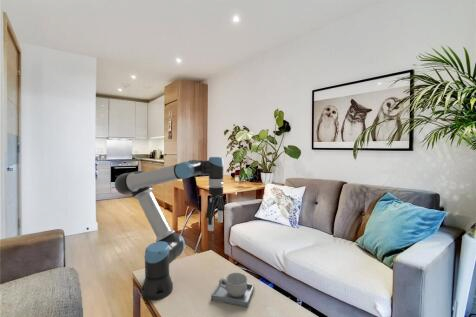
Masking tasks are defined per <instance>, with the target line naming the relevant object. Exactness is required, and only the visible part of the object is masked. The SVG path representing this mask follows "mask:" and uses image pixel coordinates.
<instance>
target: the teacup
mask: <svg viewBox="0 0 476 317" xmlns="http://www.w3.org/2000/svg"><path fill="white" fill-rule="evenodd" d="M221 281H224V282H225V284H226V286H224V285H222V284H221ZM247 283H248V278H247V275H245V274H244V273H241V272H231V273H229V274H227V276H225V277H222V278H220V279H219V280H218V284H219V285H220V286H221V287H222V288H224V289H225V290H226V291H227V293H228V294H229V295H231V296H232V297H240V296H242V295H244V294H245V292H246V289H247Z"/></svg>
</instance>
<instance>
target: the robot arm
mask: <svg viewBox="0 0 476 317" xmlns="http://www.w3.org/2000/svg"><path fill="white" fill-rule="evenodd" d="M198 175H207V176H208V186H209V187H208V195H211V197H208V205H207V208H206V209H207V210H206V214H205V218H207V231H209V232H211V231H212V232H214V227H215V226H214V224H215V223H214V222H215V221H214V214H215V211H216V207H217V209H218V210H217V223H222V224H223V222H224V221H223V219H224V218H223V217H224V212H223V211H225V202H224V198H223V193H224V187H223V186H224V182H225V180H224V159H223V157H221V156H209V158H208V160H201V159H199V160H197V159H191V160H188V161H183V162H179V163H177V164H176V163H175V164H172V165H168V166H167V165H166V166H163V167H160V168H155V169H151V170H146V171H145V170H136V171H132V172H125V173H122V174H120V175H118V176H117V177H116V179H115V182H114V189H115V190H116V191H117V192H118V193H119V194H121V195H132V197H133V199H135V200H137V201H138V203H139V205H140V207H141V209H142V210H143V211H142V212H143V213H144V215H145V217H146V219H147V220H148V223H149V224H150V227H151V229H152V230H153V232H154V235H155V237H156V239H155V242H152V243H150V244H149V245H148V246H147V247H146V248H145V251H144V280H143V283H142V286H141V296H142V298H144V299H146V300H150V301H155V300H160V299H163V298H165V297H168V296H169V295H170V294H171V293H172V291H173V290H174V286H173V282H172V279H171V278H172V277H171V276H170V265H171V263H172V262H174V261H175V259H177V258H178V257H180V256H181V254H182V253H183V252H184V251H185V247H186V242H185V239H184V237H183V236H182V235H180V234H178V233H177V232H176V230H174V229H172V228H171V227H170V225H169V222H168V221H167V219H166V216H165V215H164V212H163V210H162V208H161V207H160V205H159V202H158V201H157V199H156V197H155V195H154V193H153V191H154V187H153V186H156V185H159V184H160V185H161V184H165V183H169V182H173V181H178V180H182V179H188V178H191V177H194V176H198Z"/></svg>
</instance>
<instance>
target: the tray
mask: <svg viewBox="0 0 476 317" xmlns="http://www.w3.org/2000/svg"><path fill="white" fill-rule="evenodd" d="M221 284H222V285H224V286H226V284H225V282H224V281H221ZM254 291H255V284H253V283H248V282H247V289H246V292H245V294H244V295H242V296H240V297H232V296H231V295H229V294H228V293H227V291H226V290H225V289H224V288H222V287H221V286H220V285H219V283H218V284H217V285H216V287H215V289H214V290H213V292H212V294H211V296H210V297H211V298H210V299H211V301H214V302H218V303H223V304H229V305H233V306H239V307H243V308H248V307H249V305H250V302H251V299H252V297H253V293H254Z"/></svg>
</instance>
